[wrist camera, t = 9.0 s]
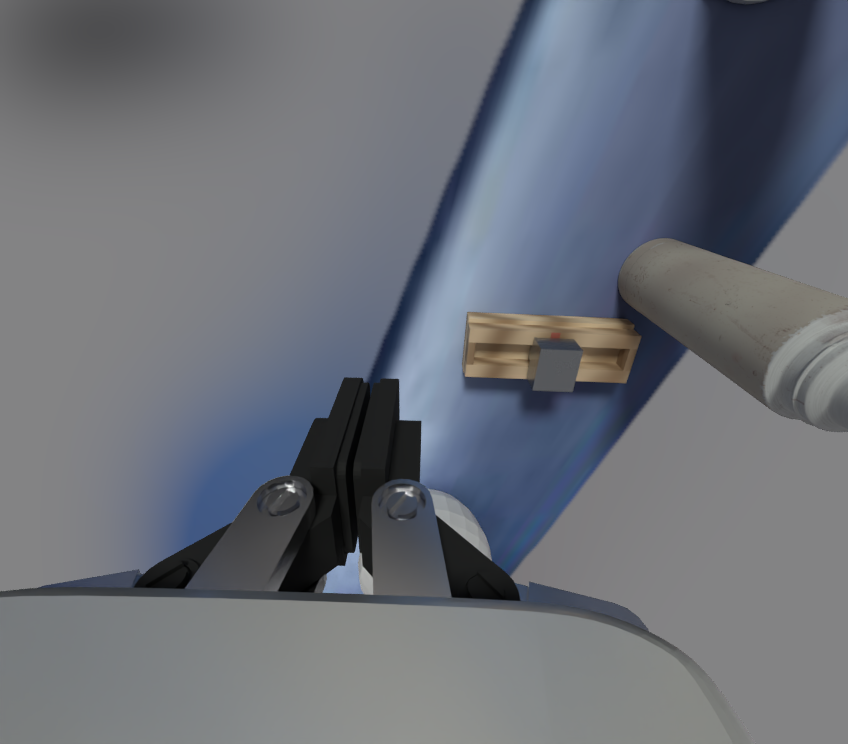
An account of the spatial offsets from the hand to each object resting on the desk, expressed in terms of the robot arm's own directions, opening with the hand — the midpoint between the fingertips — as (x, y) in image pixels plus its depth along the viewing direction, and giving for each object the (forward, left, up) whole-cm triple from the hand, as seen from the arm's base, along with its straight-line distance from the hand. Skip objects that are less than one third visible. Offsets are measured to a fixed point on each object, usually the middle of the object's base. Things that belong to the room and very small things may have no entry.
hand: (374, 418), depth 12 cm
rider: (+12, +16, -32) cm, 38 cm away
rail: (+12, +16, -34) cm, 40 cm away
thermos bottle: (+3, +27, -34) cm, 44 cm away
